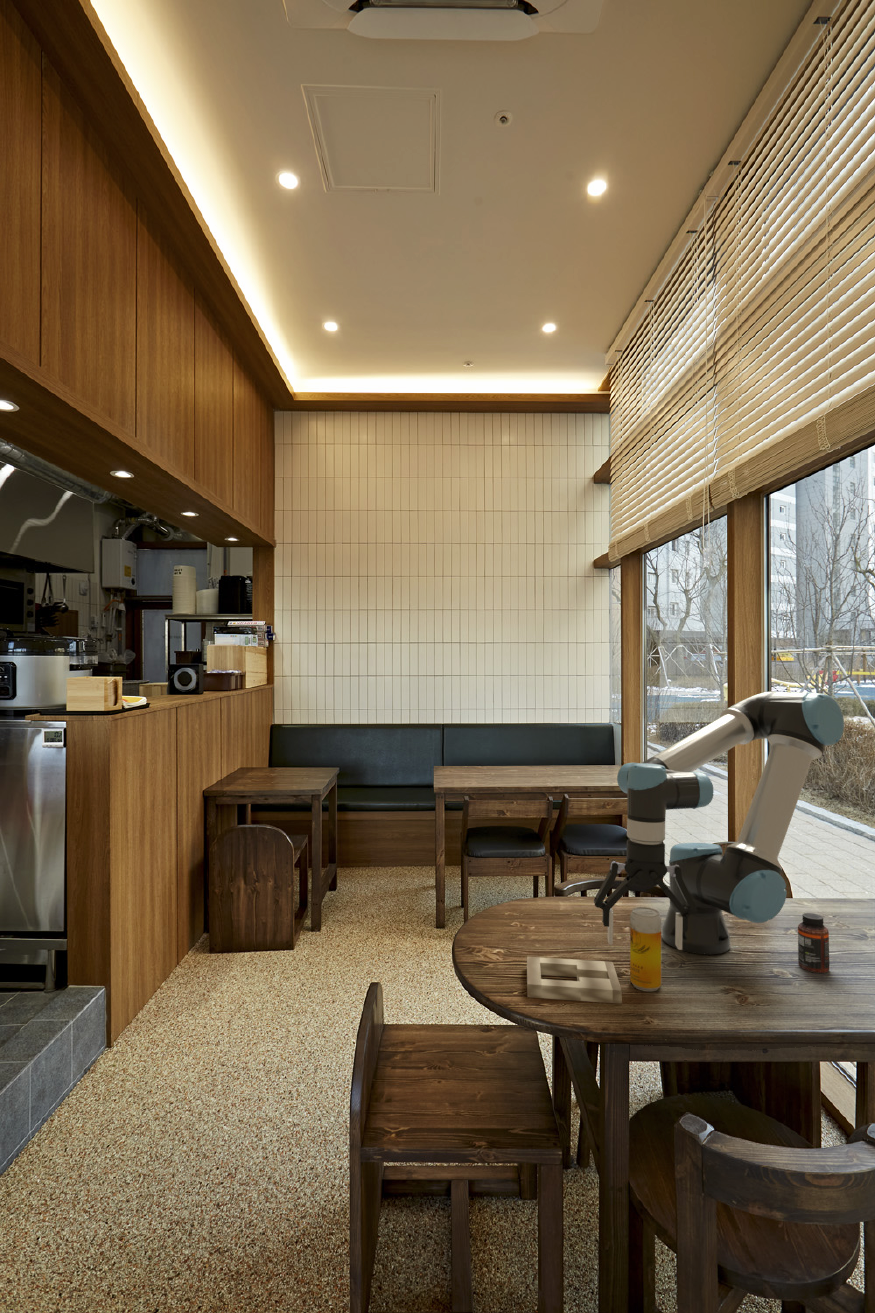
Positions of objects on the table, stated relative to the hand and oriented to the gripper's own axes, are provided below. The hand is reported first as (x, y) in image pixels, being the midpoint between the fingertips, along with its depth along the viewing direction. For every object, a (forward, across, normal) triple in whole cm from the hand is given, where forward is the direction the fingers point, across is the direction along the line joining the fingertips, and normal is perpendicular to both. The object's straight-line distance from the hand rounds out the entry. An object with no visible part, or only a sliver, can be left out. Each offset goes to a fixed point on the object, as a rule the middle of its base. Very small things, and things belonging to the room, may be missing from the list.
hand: (644, 945), depth 136 cm
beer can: (+8, 0, 0) cm, 9 cm away
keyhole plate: (+8, +14, +2) cm, 17 cm away
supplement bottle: (+8, -38, -14) cm, 42 cm away
